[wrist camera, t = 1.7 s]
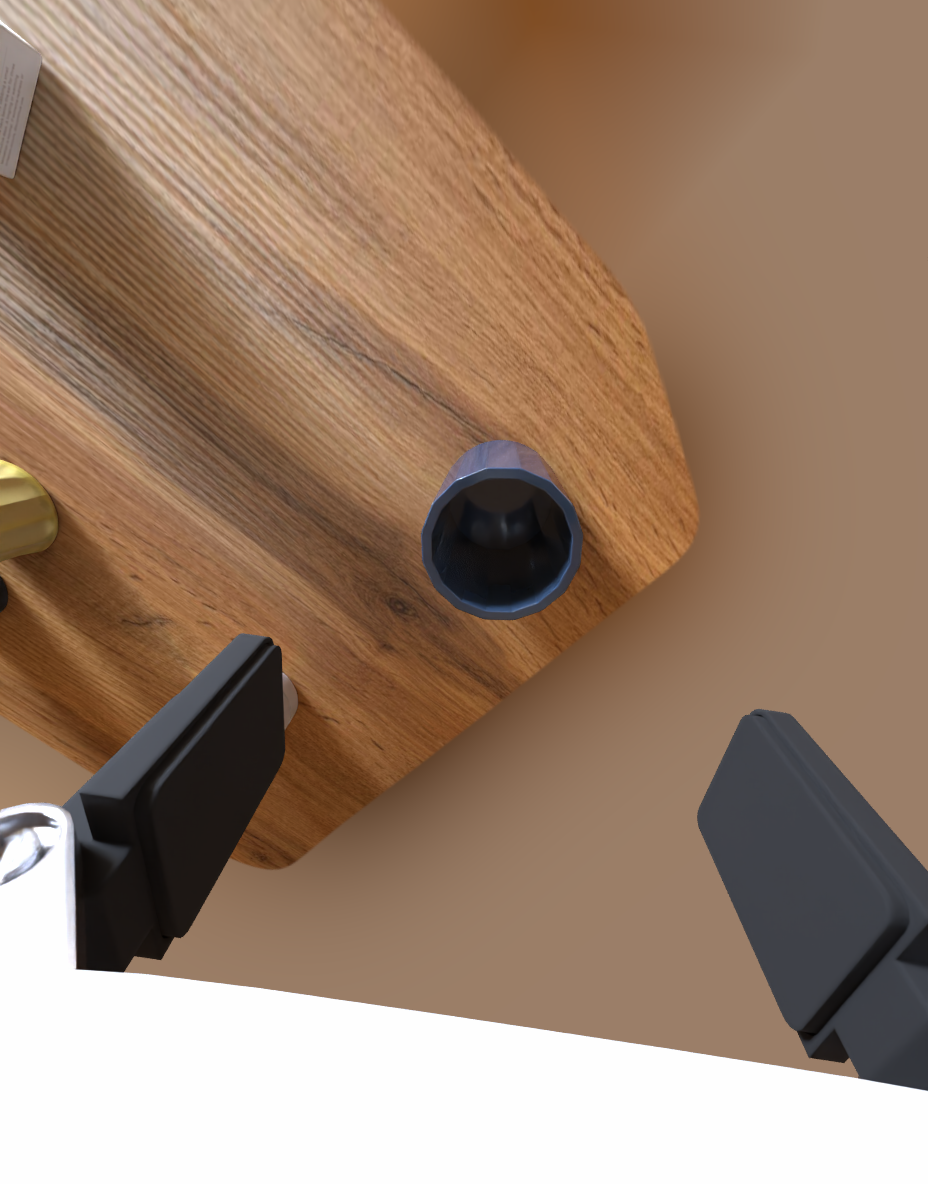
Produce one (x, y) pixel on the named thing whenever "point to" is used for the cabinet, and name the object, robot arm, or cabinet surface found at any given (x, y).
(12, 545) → the vase
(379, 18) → the cabinet surface
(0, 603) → the flashlight
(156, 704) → the cabinet surface
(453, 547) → the tumbler
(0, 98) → the small box
